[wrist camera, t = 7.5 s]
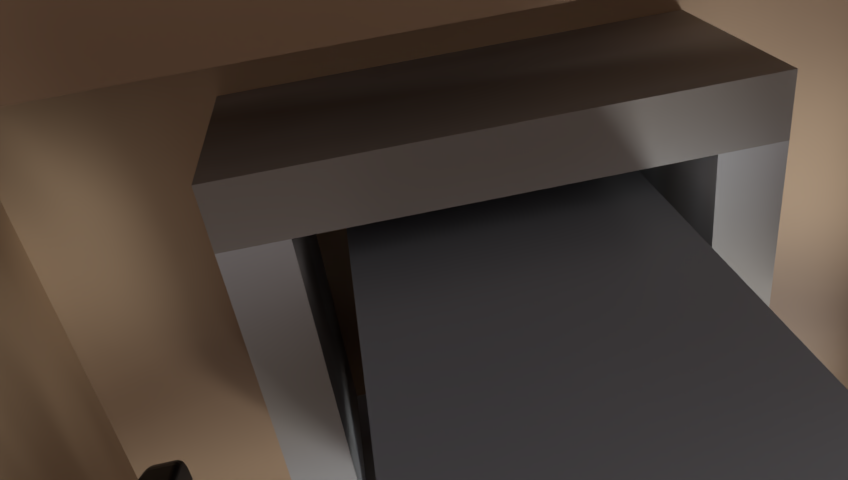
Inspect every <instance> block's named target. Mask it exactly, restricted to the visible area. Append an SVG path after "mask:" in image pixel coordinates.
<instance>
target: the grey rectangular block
mask: <svg viewBox="0 0 848 480" xmlns="http://www.w3.org/2000/svg"><path fill="white" fill-rule="evenodd" d="M346 230H347V238H348V247H349V255H350V264H351V272H352V280H353V289H354V297H355V306H356V314H357V323H358V331H359V340H360V348H361V357H362V365H363V374H364V382H365V390H366V399H367V407H368V416H369V424H370V433H371V441H372V450H373V458H374V467H375V475H376V480H848V389H847V388H846V387H845V386H844V385H843V384H842V383H841V382H840V381H839V380H838V379H837V378H836V377H835V376H834V375H833V374H832V373H831V372H830V371H829V370H828V369H827V368H826V366H825V365H824V364H823V363H822V362H821V361H820V360H819V359H818V358H817V357H816V356H815V355H814V354H813V353H812V352H811V351H810V350H809V349H808V348H807V347H806V346H805V344H804V343H803V342H802V341H801V340H800V339H799V338H798V337H797V336H796V335H795V334H794V333H793V332H792V331H791V330H790V329H789V328H788V327H787V326H786V325H785V324H784V322H783V321H782V320H781V319H780V318H779V317H778V316H777V315H776V314H775V313H774V312H773V311H772V310H771V309H770V308H769V307H768V306H767V305H766V304H765V303H764V302H763V301H762V299H761V298H760V297H759V296H758V295H757V294H756V293H755V292H754V291H753V290H752V289H751V288H750V287H749V286H748V285H747V284H746V283H745V282H744V281H743V280H742V279H741V277H740V276H739V275H738V274H737V273H736V272H735V271H734V270H733V269H732V268H731V267H730V266H729V265H728V264H727V263H726V262H725V261H724V260H723V259H722V258H721V257H720V255H719V254H718V253H717V252H716V251H715V250H714V249H713V248H712V247H711V246H710V245H709V244H708V243H707V242H706V241H705V240H704V239H703V238H702V237H701V236H700V235H699V234H698V232H697V231H696V230H695V229H694V228H693V227H692V226H691V225H690V224H689V223H688V222H687V221H686V220H685V219H684V218H683V217H682V216H681V215H680V214H679V213H678V212H677V210H676V209H675V208H674V207H673V206H672V205H671V204H670V203H669V202H668V201H667V200H666V199H665V198H664V197H663V196H662V195H661V194H660V193H659V192H658V191H657V190H656V188H655V187H654V186H653V185H652V184H651V183H650V182H649V181H648V180H647V179H646V178H645V177H644V176H643V175H642V174H641V173H640V172H639V171H632V172H627V173H622V174H617V175H612V176H607V177H602V178H597V179H592V180H587V181H582V182H577V183H572V184H567V185H562V186H557V187H552V188H547V189H542V190H536V191H531V192H526V193H521V194H516V195H511V196H506V197H501V198H496V199H491V200H486V201H481V202H476V203H471V204H466V205H461V206H456V207H451V208H446V209H440V210H435V211H430V212H425V213H420V214H415V215H410V216H405V217H400V218H395V219H390V220H385V221H380V222H375V223H370V224H365V225H360V226H355V227H350V228H346Z"/></svg>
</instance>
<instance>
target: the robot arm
mask: <svg viewBox="0 0 848 480" xmlns="http://www.w3.org/2000/svg"><path fill="white" fill-rule="evenodd" d="M138 480H193V478H192V476H191V474H190V471H189V469H188V467H187V465H186V464H185V463H184V462H183V461H181V460H174V461H170V462H165V463H160V464H156V465H152V466H150V467H148V468H147V469H146V470H145V471H144V472H143V473H142V475H141V476H140V477H139V479H138Z"/></svg>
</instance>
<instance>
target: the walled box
mask: <svg viewBox="0 0 848 480" xmlns="http://www.w3.org/2000/svg"><path fill="white" fill-rule="evenodd" d="M632 171H639V172H640V173H641V174H642V175H643V176H644V177H645V178H646V179H647V180H648V181H649V182H650V183H651V184H652V185H653V186H654V187H655V188H656V190H657V191H658V192H659V193H660V194H661V195H662V196H663V197H664V198H665V199H666V200H667V201H668V202H669V203H670V204H671V205H672V206H673V207H674V208H675V209H676V210H677V212H678V213H679V214H680V215H681V216H682V217H683V218H684V219H685V220H686V221H687V222H688V223H689V224H690V225H691V226H692V227H693V228H694V229H695V230H696V231H697V232H698V234H699V235H700V236H701V237H702V238H703V239H704V240H705V241H706V242H707V243H708V244H709V245H710V246H711V247H712V248H713V249H714V250H715V251H716V252H717V253H718V254H719V255H720V257H721V258H722V259H723V260H724V261H725V262H726V263H727V264H728V265H729V266H730V267H731V268H732V269H733V270H734V271H735V272H736V273H737V274H738V275H739V276H740V277H741V279H742V280H743V281H744V282H745V283H746V284H747V285H748V286H749V287H750V288H751V289H752V290H753V291H754V292H755V293H756V294H757V295H758V296H759V297H760V298H761V299H762V301H763V302H764V303H765V304H766V305H767V306H768V307H769V308H770V309H771V310H772V311H773V312H774V313H775V314H776V315H777V316H778V317H779V318H780V319H781V320H782V321H783V322H784V324H785V325H786V326H787V327H788V328H789V329H790V330H791V331H792V332H793V333H794V334H795V335H796V336H797V337H798V338H799V339H800V340H801V341H802V342H803V343H804V344H805V346H806V347H807V348H808V349H809V350H810V351H811V352H812V353H813V354H814V355H815V356H816V357H817V358H818V359H819V360H820V361H821V362H822V363H823V364H824V365H825V366H826V368H827V369H828V370H829V371H830V372H831V373H832V374H833V375H834V376H835V377H836V378H837V379H838V380H839V381H840V382H841V383H842V384H843V385H844V386H845V387H846V388H847V389H848V0H0V480H138V479H139V477H140V476H141V475H142V473H143V472H144V471H145V470H146V469H147V468H148V467H150V466H152V465H156V464H160V463H165V462H170V461H174V460H181V461H183V462H184V463H185V464H186V465H187V467H188V469H189V471H190V474H191V476H192V478H193V480H376V475H375V467H374V458H373V450H372V441H371V433H370V424H369V416H368V407H367V399H366V390H365V382H364V374H363V365H362V357H361V348H360V340H359V331H358V323H357V314H356V306H355V297H354V289H353V280H352V272H351V264H350V255H349V247H348V238H347V230H346V228H350V227H355V226H360V225H365V224H370V223H375V222H380V221H385V220H390V219H395V218H400V217H405V216H410V215H415V214H420V213H425V212H430V211H435V210H440V209H446V208H451V207H456V206H461V205H466V204H471V203H476V202H481V201H486V200H491V199H496V198H501V197H506V196H511V195H516V194H521V193H526V192H531V191H536V190H542V189H547V188H552V187H557V186H562V185H567V184H572V183H577V182H582V181H587V180H592V179H597V178H602V177H607V176H612V175H617V174H622V173H627V172H632Z"/></svg>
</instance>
